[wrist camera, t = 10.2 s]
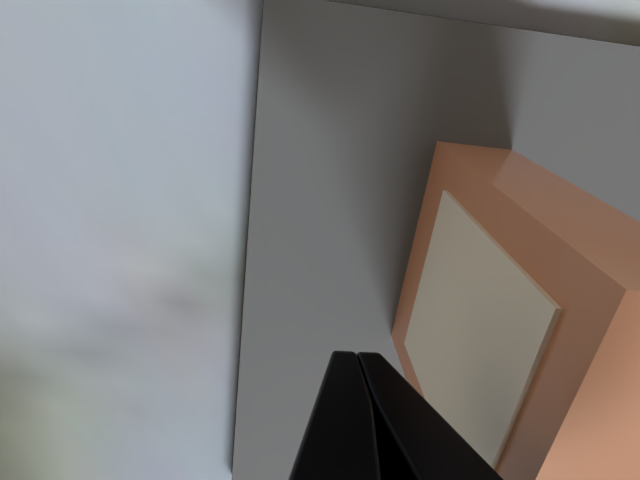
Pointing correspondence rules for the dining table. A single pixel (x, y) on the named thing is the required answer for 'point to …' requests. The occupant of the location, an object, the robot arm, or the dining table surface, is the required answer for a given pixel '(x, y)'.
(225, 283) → the dining table surface
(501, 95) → the mat
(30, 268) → the dining table surface
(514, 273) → the tile
